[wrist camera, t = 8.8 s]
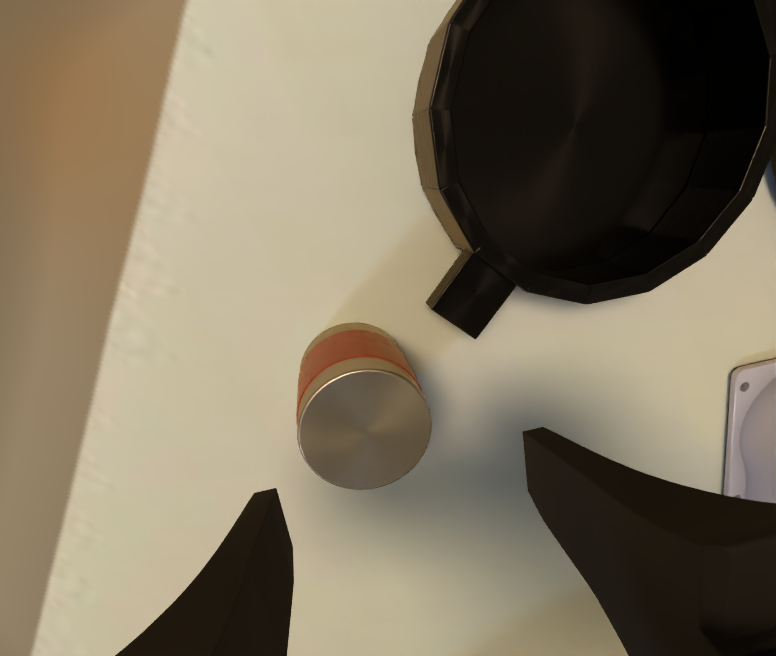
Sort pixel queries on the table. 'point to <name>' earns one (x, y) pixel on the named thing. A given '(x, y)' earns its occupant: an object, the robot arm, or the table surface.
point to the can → (360, 408)
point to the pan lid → (774, 161)
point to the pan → (590, 142)
